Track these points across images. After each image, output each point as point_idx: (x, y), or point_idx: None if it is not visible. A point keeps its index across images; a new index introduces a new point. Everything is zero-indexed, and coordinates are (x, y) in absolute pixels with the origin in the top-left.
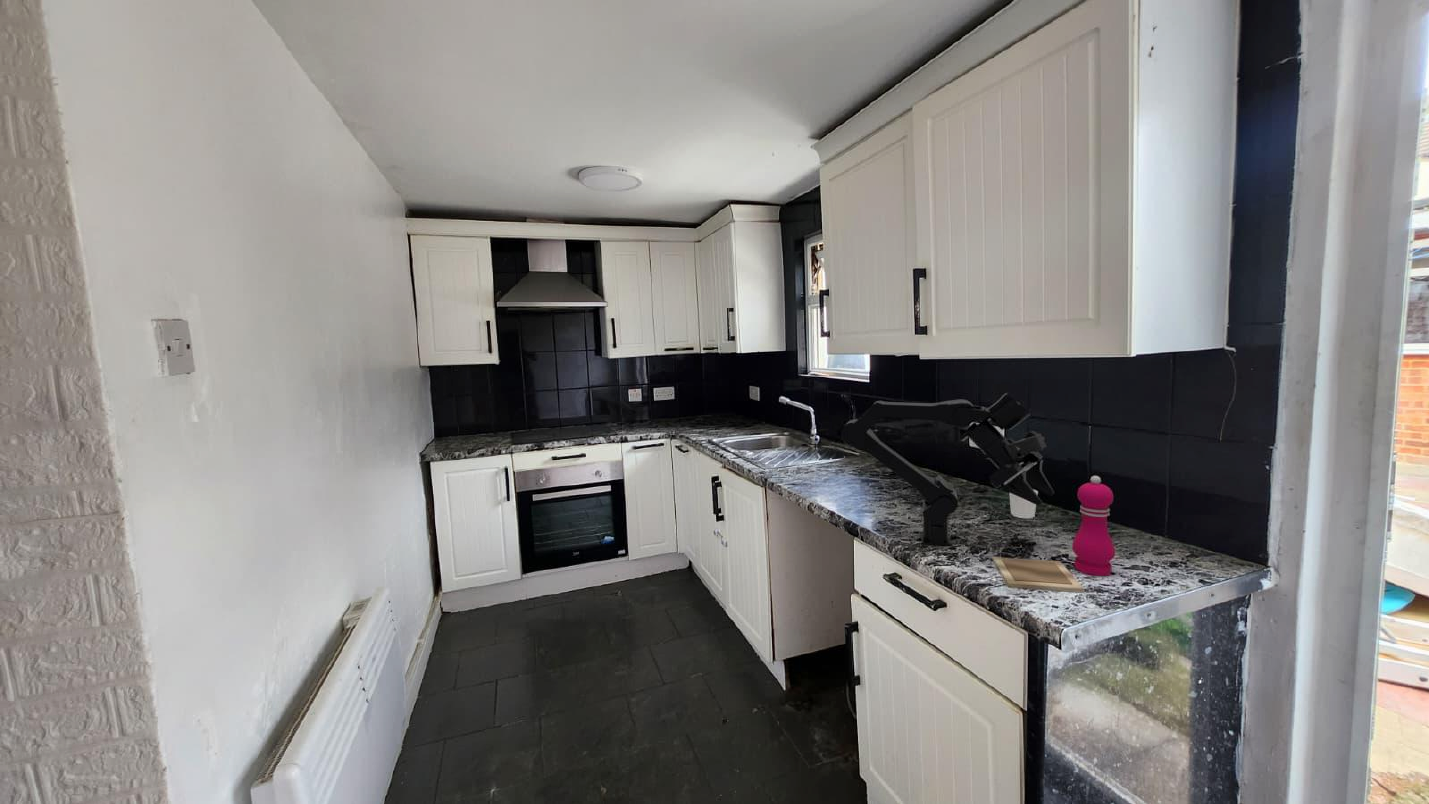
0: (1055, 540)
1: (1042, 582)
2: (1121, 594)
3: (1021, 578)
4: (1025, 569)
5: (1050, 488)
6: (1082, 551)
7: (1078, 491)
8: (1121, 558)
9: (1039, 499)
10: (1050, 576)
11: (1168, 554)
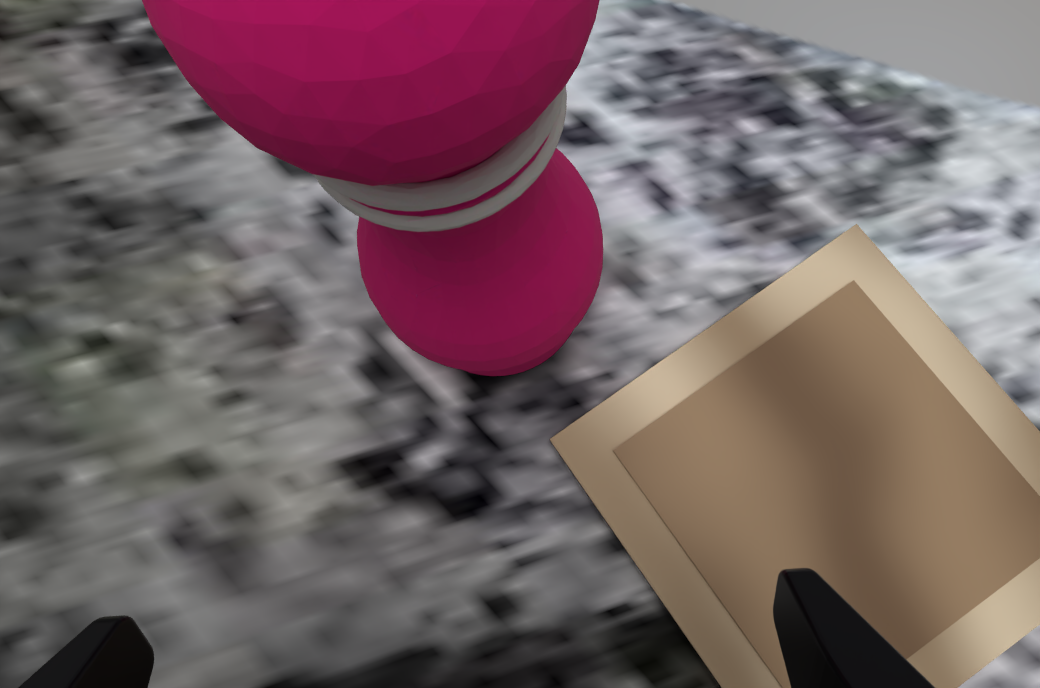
0: (131, 601)
1: (956, 404)
2: (722, 114)
3: (1018, 509)
4: (858, 543)
5: (75, 685)
6: (598, 276)
7: (474, 92)
8: (222, 235)
9: (848, 607)
10: (846, 396)
11: (21, 96)
